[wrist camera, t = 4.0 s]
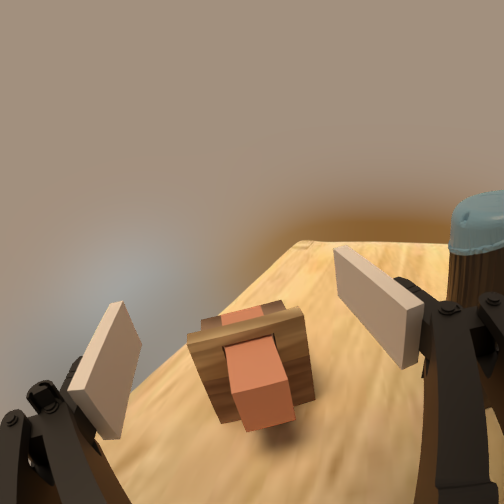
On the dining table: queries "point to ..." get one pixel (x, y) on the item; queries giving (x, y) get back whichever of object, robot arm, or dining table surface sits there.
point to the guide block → (273, 322)
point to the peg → (257, 377)
